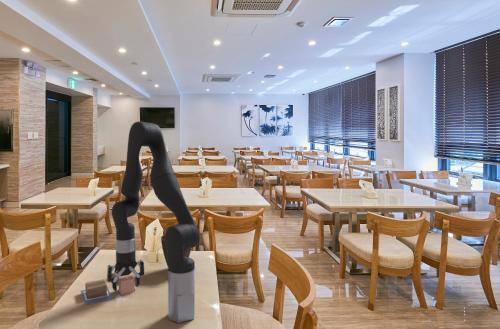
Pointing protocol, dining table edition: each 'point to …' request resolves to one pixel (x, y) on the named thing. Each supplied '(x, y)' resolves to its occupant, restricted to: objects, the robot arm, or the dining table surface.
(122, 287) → the terracotta block
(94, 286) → the walnut base
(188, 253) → the plant pot
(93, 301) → the blueprint mat
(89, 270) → the dining table surface
